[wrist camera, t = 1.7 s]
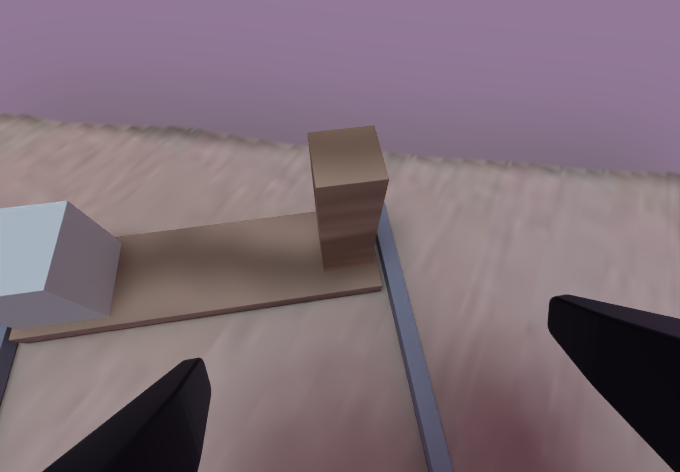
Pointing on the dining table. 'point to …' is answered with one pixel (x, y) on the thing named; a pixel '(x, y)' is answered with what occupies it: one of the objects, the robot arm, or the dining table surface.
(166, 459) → the robot arm
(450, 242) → the dining table surface
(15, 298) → the light blue-gray cube
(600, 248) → the dining table surface
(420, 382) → the lane rails
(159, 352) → the dining table surface
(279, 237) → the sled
